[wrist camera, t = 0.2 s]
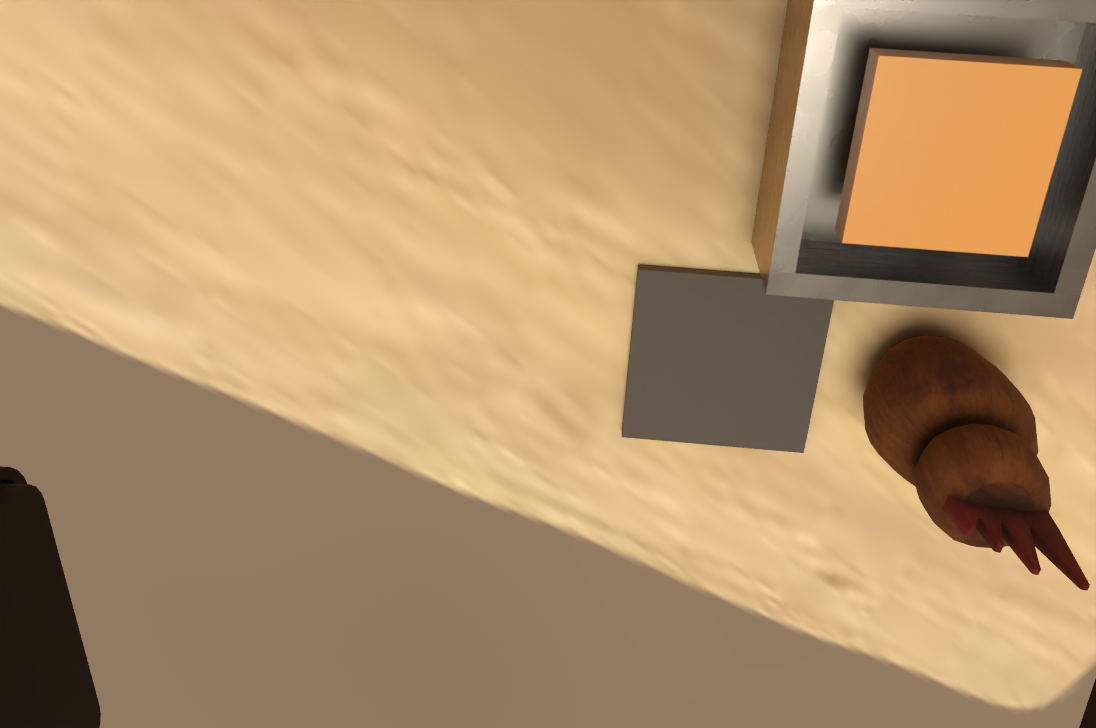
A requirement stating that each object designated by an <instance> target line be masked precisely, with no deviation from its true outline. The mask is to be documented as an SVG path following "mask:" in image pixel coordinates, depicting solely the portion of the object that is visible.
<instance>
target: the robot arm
mask: <svg viewBox="0 0 1096 728" xmlns="http://www.w3.org/2000/svg"><path fill="white" fill-rule="evenodd" d="M100 715H101V713H100V706H99V702H98V699H97V695H96V691H95V687H94V683H93V680H92V676H91V673H90V669H89V665H88V661H87V657H86V654H85V650H84V646H83V643H82V639H81V635H80V631H79V628H78V624H77V621H76V616H75V613H74V609H73V605H72V602H71V598H70V594H69V590H68V587H67V583H66V579H65V575H64V572H63V568H62V564H61V561H60V557H59V553H58V550H57V546H56V542H55V538H54V535H53V531H52V527H51V523H50V520H49V516H48V512H47V508H46V505H45V501H44V498H43V496H42V494H41V492H40V491H39V490H38V489H37V487H35V486H32V485H28V484H27V482H26V480H25V478H24V476H23V475H22V474H21V473H20V472H19V471H18V470H16V469H13V468H11V467H0V728H99V726H100ZM1079 728H1096V680H1095V683H1094V685H1093V688H1092V691H1091V694H1090V697H1089V700H1088V703H1087V706H1086V709H1085V712H1084V715H1083V718H1082V721H1081V724H1080V727H1079Z"/></svg>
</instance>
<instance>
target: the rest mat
mask: <svg viewBox="0 0 1096 728" xmlns="http://www.w3.org/2000/svg"><path fill="white" fill-rule="evenodd" d="M833 302H834V300H829V299H817V298H804V297H791V296H779V295H766V293H765V289H764V286H763V282H762V278H761V275H760V274H752V273H739V272H726V271H714V270H701V269H688V268H675V267H662V266H649V265H638V273H637V283H636V293H635V304H634V314H633V324H632V334H631V344H630V355H629V365H628V375H627V385H626V395H625V406H624V416H623V426H622V437H627V438H639V439H650V440H662V441H673V442H684V443H696V444H707V445H719V446H730V447H742V448H753V449H765V450H776V451H788V452H799V453H804V448H805V443H806V438H807V433H808V428H809V423H810V418H811V413H812V408H813V403H814V398H815V393H816V388H817V383H818V378H819V373H820V368H821V363H822V358H823V353H824V348H825V343H826V338H827V332H828V327H829V322H830V317H831V312H832V307H833Z"/></svg>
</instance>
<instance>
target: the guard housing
mask: <svg viewBox="0 0 1096 728" xmlns="http://www.w3.org/2000/svg"><path fill="white" fill-rule="evenodd" d="M870 48H881V49H897V50H912V51H927V52H943V53H958V54H973V55H988V56H1004V57H1019V58H1034V59H1050V60H1065V61H1067V62H1069V63H1071V64H1073V65H1075V66H1077V67H1079V68H1081V69H1082V73H1081V76H1080V79H1079V83H1078V86H1077V90H1076V93H1075V97H1074V100H1073V104H1072V107H1071V110H1070V114H1069V117H1068V121H1067V124H1066V128H1065V131H1064V135H1063V138H1062V141H1061V145H1060V148H1059V152H1058V155H1057V159H1056V162H1055V166H1054V169H1053V172H1052V176H1051V179H1050V183H1049V186H1048V190H1047V193H1046V197H1045V200H1044V203H1043V207H1042V210H1041V214H1040V217H1039V221H1038V224H1037V228H1036V231H1035V234H1034V238H1033V241H1032V245H1031V248H1030V252H1029V255H1028V257H1020V256H1006V255H993V254H980V253H967V252H954V251H941V250H927V249H914V248H901V247H888V246H875V245H862V244H848V243H842V242H841V240H840V238H839V236H838V234H837V232H836V230H835V226H836V221H837V216H838V211H839V205H840V200H841V195H842V190H843V185H844V179H845V174H846V169H847V164H848V158H849V153H850V148H851V143H852V138H853V132H854V127H855V122H856V117H857V112H858V106H859V101H860V96H861V91H862V86H863V80H864V75H865V70H866V65H867V60H868V54H869V49H870ZM752 246H753V249H754V253H755V257H756V260H757V264H758V268H759V271H760V275H761V278H762V282H763V286H764V289H765V293H766V295H779V296H791V297H804V298H817V299H829V300H842V301H855V302H867V303H880V304H893V305H905V306H918V307H931V308H943V309H956V310H969V311H981V312H994V313H1006V314H1019V315H1032V316H1044V317H1057V318H1070V319H1073V317H1074V314H1075V311H1076V308H1077V304H1078V301H1079V298H1080V295H1081V292H1082V289H1083V286H1084V283H1085V280H1086V277H1087V273H1088V270H1089V267H1090V264H1091V261H1092V258H1093V255H1094V252H1095V249H1096V0H788V7H787V13H786V20H785V26H784V33H783V40H782V46H781V53H780V59H779V66H778V72H777V79H776V85H775V92H774V99H773V105H772V112H771V118H770V125H769V131H768V138H767V145H766V151H765V158H764V164H763V171H762V177H761V184H760V190H759V197H758V204H757V210H756V217H755V223H754V230H753V236H752Z"/></svg>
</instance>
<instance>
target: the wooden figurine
mask: <svg viewBox="0 0 1096 728" xmlns="http://www.w3.org/2000/svg"><path fill="white" fill-rule="evenodd" d="M863 408H864V419H865V430H866V433H867V435H868V438H869V441H870V443H871V444H872V446H873V447H874V448H875V450H876V451H877V452H878V454H879V455H880V456H881V457H882V458H883V459H884V460H885V461H886V462H887V463H888V464H889V465H890V466H891V467H892V468H893V469H894V470H895V471H896V472H897V473H898V474H899V475H901V476H902V477H903V478H904V479H906V480H907V481H908V482H910V483H911V484H913V485H914V486H915V487H916V489H917V493H918V496H919V499H920V501H921V503H922V504H923V506H924V508H925V510H926V511H927V513H928V514H929V516H930V517H931V519H932V521H933V522H934V523H935V524H936V525H937V526H938V527H939V528H940V529H942V530H943V531H944V532H945V533H946V534H947V535H948V536H950V537H951V538H952V539H953V540H955V541H958V542H961V543H964V544H967V545H970V546H975V547H986V548H992V549H993V550H994V551H995V552H999V553H1000V552H1001V550H1002V548H1003V547H1004V546H1010V547H1011V549H1012V550H1013V551H1014V552H1015V554H1016V555H1017V556H1018V557H1019V558H1020V560H1021V561H1022V562H1023V563H1024V565H1025V566H1026V567H1027V568H1028V570H1029V571H1030V572H1031V573H1032V574H1035V575H1038V574H1039V572H1040V570H1041V568H1040V565H1039V561H1038V557H1037V553H1036V550H1035V547H1036V548H1037V549H1038V550H1040V551H1041V552H1042V553H1043V554H1044V555H1045V556H1046V557H1047V558H1048V559H1049V560H1050V561H1051V562H1052V563H1053V564H1054V565H1055V566H1056V567H1057V568H1058V569H1060V570H1061V571H1062V572H1063V573H1064V574H1065V575H1066V576H1067V577H1068V578H1069V579H1070V580H1071V581H1072V582H1073V583H1074V584H1075V585H1076V586H1077V587H1079V588H1080V589H1082V590H1088V588H1089V583H1088V581H1087V579H1086V577H1085V576H1084V574H1083V572H1082V570H1081V568H1080V567H1079V565H1078V563H1077V561H1076V559H1075V557H1074V556H1073V554H1072V552H1071V550H1070V548H1069V547H1068V545H1067V543H1066V541H1065V539H1064V538H1063V536H1062V534H1061V532H1060V530H1059V529H1058V527H1057V525H1056V524H1055V522H1054V520H1053V519H1052V517H1051V516H1050V514H1049V510H1050V507H1051V497H1050V485H1049V477H1048V476H1047V474H1046V472H1045V470H1044V468H1043V466H1042V465H1041V463H1040V461H1039V459H1038V457H1037V453H1038V444H1037V434H1036V424H1035V417H1034V414H1033V412H1032V410H1031V408H1030V405H1029V404H1028V402H1027V401H1026V400H1025V398H1024V397H1023V396H1022V394H1021V393H1020V392H1019V390H1018V389H1017V388H1016V387H1015V386H1014V385H1013V384H1012V383H1011V382H1010V380H1009V379H1008V378H1007V377H1006V376H1005V375H1004V374H1003V373H1002V372H1001V371H1000V370H999V369H998V368H997V367H996V366H994V365H993V364H992V363H990V362H989V361H987V360H986V359H984V358H983V357H982V356H980V355H979V354H977V353H976V352H974V351H973V350H971V349H970V348H968V347H966V346H964V345H962V344H960V343H958V342H955V341H953V340H951V339H948V338H944V337H936V336H929V335H924V336H919V337H914V338H910V339H906V340H904V341H902V342H900V343H899V344H897V345H895V346H893V347H892V348H890V349H888V351H887V352H886V353H885V354H884V356H883V357H882V358H881V359H880V361H879V362H878V363H877V365H876V366H875V368H874V370H873V372H872V375H871V377H870V379H869V382H868V384H867V387H866V389H865V392H864V395H863Z"/></svg>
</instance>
